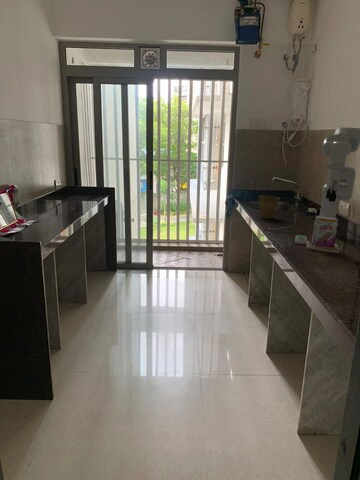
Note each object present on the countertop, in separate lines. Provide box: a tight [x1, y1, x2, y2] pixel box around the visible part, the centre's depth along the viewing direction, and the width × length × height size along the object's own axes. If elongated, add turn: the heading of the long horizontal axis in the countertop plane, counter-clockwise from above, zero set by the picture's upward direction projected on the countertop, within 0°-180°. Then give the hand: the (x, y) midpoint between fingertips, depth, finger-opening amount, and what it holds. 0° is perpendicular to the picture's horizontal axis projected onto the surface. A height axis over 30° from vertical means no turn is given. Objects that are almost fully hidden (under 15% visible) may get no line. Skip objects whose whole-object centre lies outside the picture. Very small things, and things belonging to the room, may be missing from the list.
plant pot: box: [258, 194, 280, 219], centre depth 267 cm, size 15×15×16 cm
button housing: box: [294, 235, 308, 245], centre depth 204 cm, size 6×6×3 cm
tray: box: [305, 240, 340, 254], centre depth 194 cm, size 10×16×2 cm, turn 76°
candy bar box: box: [311, 215, 339, 248], centre depth 192 cm, size 11×5×16 cm, turn 75°
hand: (330, 199), depth 187 cm, fingers open, 9 cm apart
